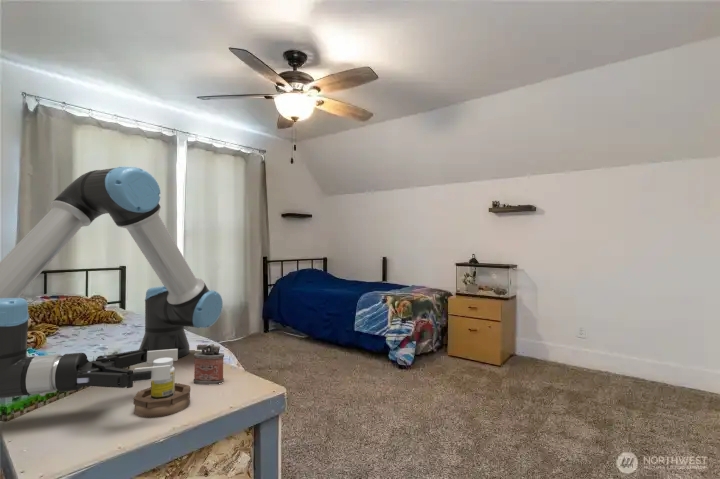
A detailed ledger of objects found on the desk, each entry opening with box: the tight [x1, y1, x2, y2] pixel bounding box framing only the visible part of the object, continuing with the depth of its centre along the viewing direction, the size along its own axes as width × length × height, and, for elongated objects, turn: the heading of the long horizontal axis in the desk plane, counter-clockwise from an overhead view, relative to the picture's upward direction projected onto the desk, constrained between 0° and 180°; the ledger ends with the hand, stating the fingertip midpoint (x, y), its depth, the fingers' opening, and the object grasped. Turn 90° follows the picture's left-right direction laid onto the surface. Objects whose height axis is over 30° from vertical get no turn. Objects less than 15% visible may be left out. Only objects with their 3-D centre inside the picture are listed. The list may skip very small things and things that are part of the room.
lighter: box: [193, 343, 225, 386], centre depth 99 cm, size 8×3×10 cm, turn 84°
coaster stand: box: [132, 382, 191, 419], centre depth 83 cm, size 11×11×3 cm
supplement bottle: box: [150, 358, 176, 400], centre depth 83 cm, size 5×5×8 cm
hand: (174, 362), depth 84 cm, fingers open, 13 cm apart
